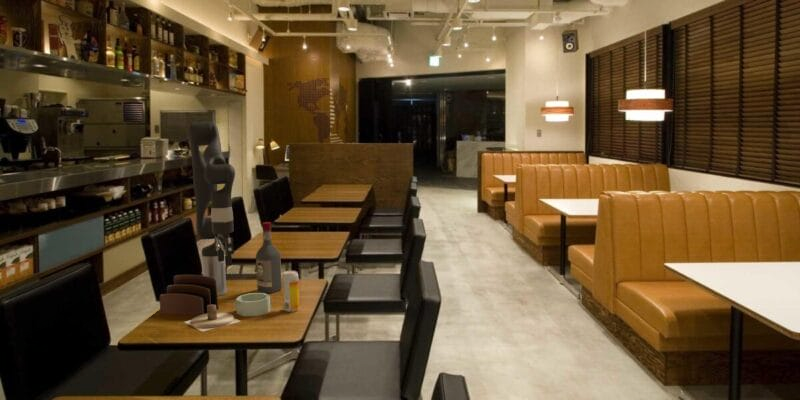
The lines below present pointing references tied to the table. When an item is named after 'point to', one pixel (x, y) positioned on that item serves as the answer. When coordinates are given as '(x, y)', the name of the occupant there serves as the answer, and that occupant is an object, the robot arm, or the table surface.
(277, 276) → the liquor
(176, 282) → the letter holder
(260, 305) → the bowl
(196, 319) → the lid
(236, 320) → the mat
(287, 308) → the beer can
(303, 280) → the table surface
